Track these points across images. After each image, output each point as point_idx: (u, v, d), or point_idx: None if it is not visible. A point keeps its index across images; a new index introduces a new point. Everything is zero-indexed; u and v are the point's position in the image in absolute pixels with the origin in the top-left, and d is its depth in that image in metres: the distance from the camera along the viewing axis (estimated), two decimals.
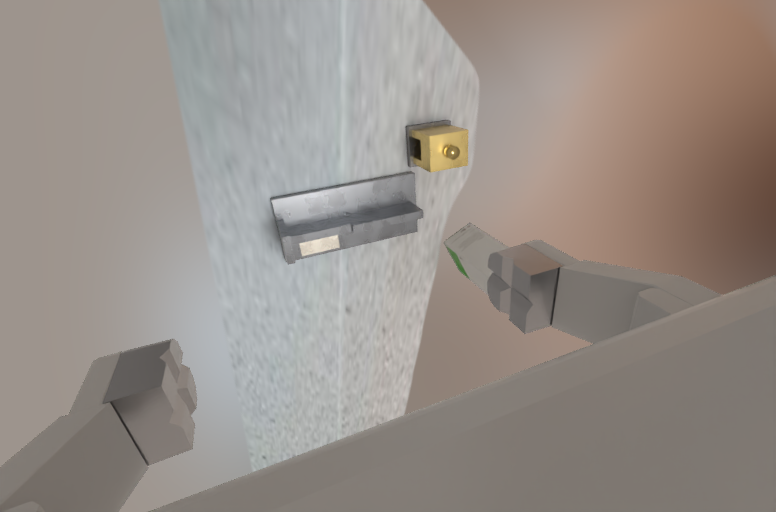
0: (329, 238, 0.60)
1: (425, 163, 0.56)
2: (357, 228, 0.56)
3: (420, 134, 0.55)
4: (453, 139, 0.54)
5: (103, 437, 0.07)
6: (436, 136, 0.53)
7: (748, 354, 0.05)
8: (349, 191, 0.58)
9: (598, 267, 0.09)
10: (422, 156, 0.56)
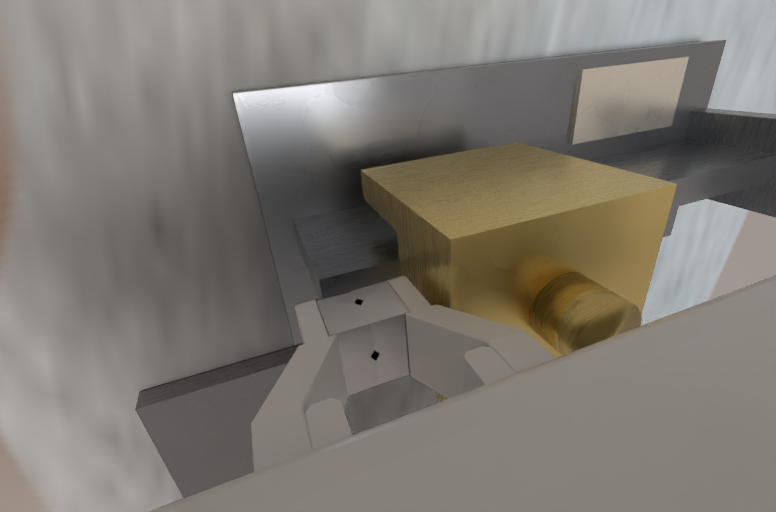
0: (601, 114, 0.17)
1: None
2: None
3: None
4: None
5: (334, 363, 0.08)
6: None
7: (748, 354, 0.05)
8: None
9: (445, 315, 0.08)
10: None
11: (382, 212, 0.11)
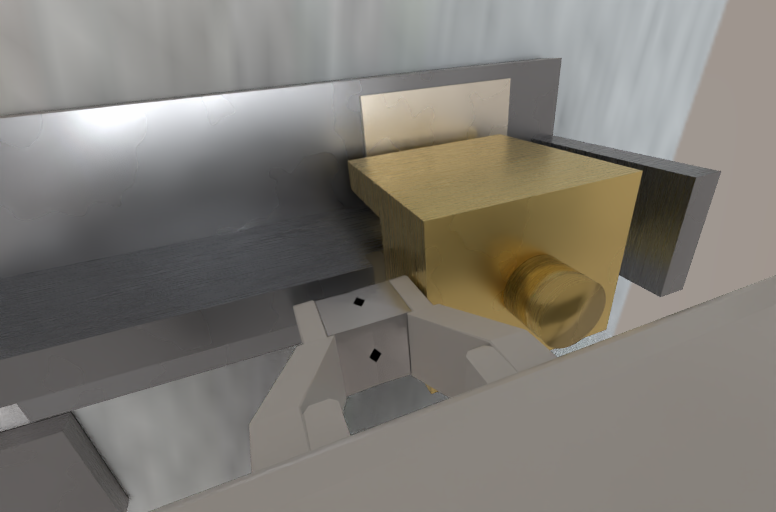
0: (401, 147, 0.14)
1: None
2: None
3: None
4: None
5: (332, 364, 0.08)
6: None
7: (748, 354, 0.05)
8: None
9: (446, 314, 0.08)
10: None
11: (367, 200, 0.12)
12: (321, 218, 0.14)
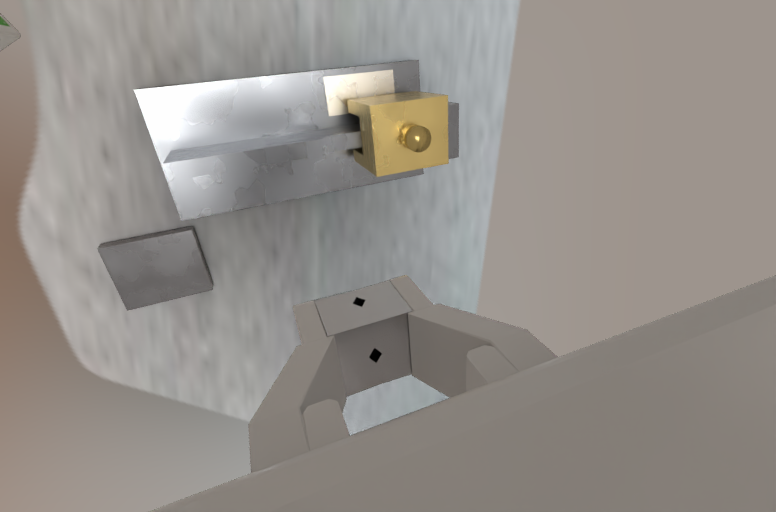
0: (343, 100, 0.32)
1: None
2: (318, 148, 0.29)
3: None
4: (405, 158, 0.29)
5: (332, 364, 0.08)
6: (436, 163, 0.30)
7: (748, 354, 0.05)
8: (307, 186, 0.34)
9: (447, 314, 0.08)
10: None
11: (354, 112, 0.30)
12: (307, 131, 0.32)
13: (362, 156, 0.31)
